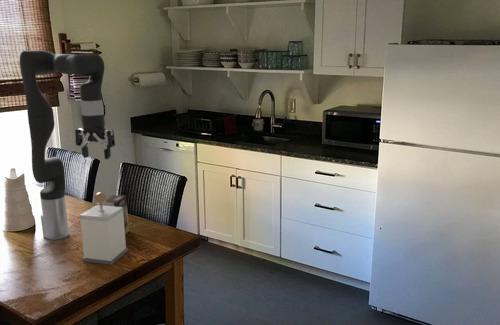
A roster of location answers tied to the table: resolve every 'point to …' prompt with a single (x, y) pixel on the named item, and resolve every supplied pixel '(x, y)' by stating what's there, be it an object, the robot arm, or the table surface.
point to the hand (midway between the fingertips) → (96, 158)
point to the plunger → (100, 199)
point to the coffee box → (119, 202)
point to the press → (103, 234)
